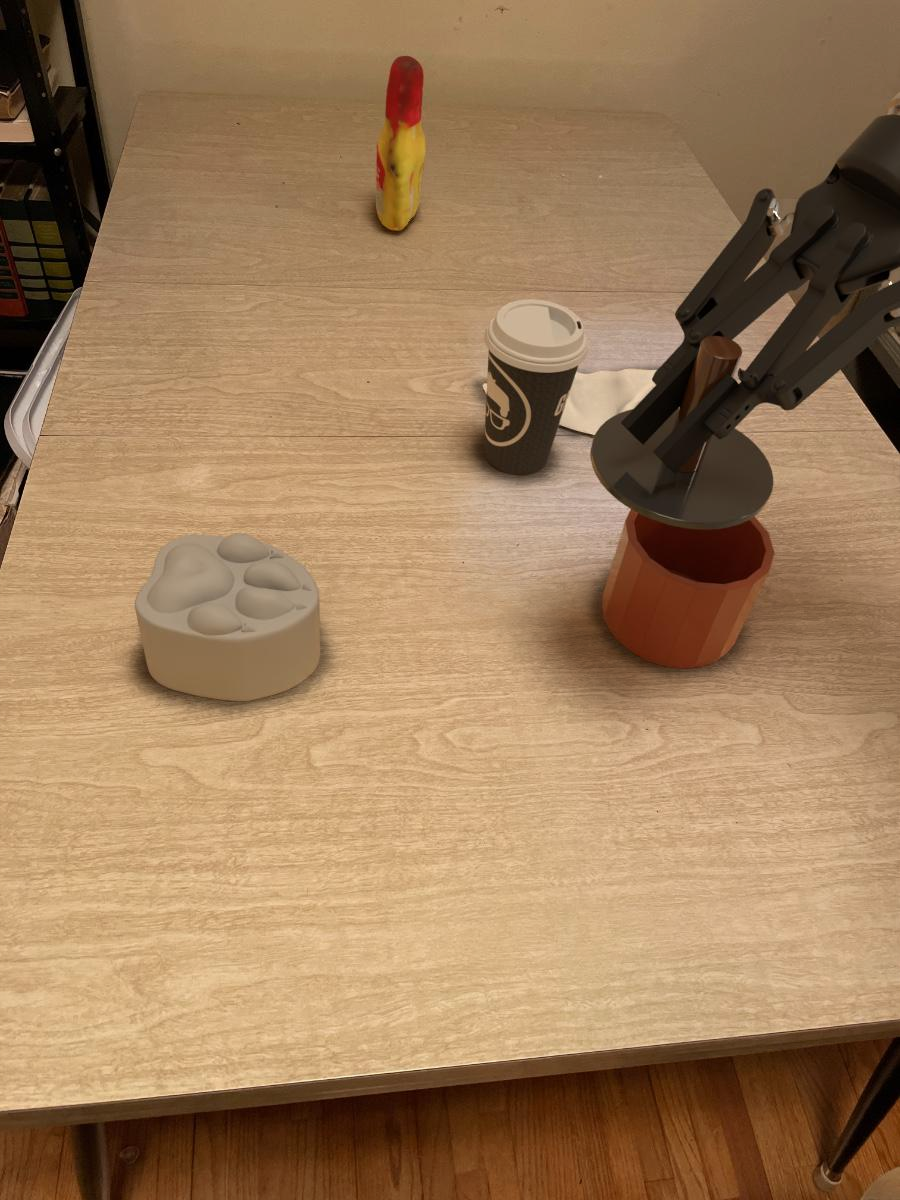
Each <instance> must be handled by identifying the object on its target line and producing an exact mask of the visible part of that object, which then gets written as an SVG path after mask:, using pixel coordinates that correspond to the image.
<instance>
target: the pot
mask: <svg viewBox="0 0 900 1200" xmlns="http://www.w3.org/2000/svg"><path fill="white" fill-rule="evenodd" d="M775 554H776V553H775V549H774V546H773V543H772V539H771V536H770V533H769V531H768V530H767V529H766V527H764V525H763V524H762V523H761V522H760V520H759V519H758V518H757V517H756V516H754V517H753V518H751V519H750V520H748V521H746V522H743V523H741V524H739V525H735V526H732V527H727V528H721V529H709V530H704V529H689V528H682V527H677V526H672V525H668V524H665V523H661V522H658V521H655V520H653V519H650V518H648V517H645V516H643V515H641V514H639V513H637V512H635V511H633V510H632V509H630V510H629V512H628V514H627V516H626V518H625V520H624V523H623V527H622V530H621V533H620V537H619V541H618V544H617V547H616V550H615V553H614V555H613V560H612V563H611V566H610V569H609V573H608V576H607V579H606V582H605V585H604V589H603V592H602V595H601V612H602V616H603V619H604V622H605V624H606V626H607V628H608V630H609V631H610V633H611V634H612V635H613V637H614V638H615V639H616V640H617V641H618V642H619V644H621V645H622V646H623V647H625V649H627V650H628V651H630V652H631V653H633V654H634V655H636V656H637V657H639V658H642V659H644V660H645V661H648V662H651V663H654V664H656V665H659V666H664V667H667V668H676V669H695V668H701V667H706V666H709V665H711V664H714V663H715V662H717V661H719V660H720V659H723V657H725V655H726V654H728V652H730V650H731V648H733V647H734V646H735V643H736V642H737V639H738V638H739V636H740V634H741V632H742V629H743V627H744V625H745V623H746V621H747V620H748V617H749V615H750V612H751V610H752V609H753V606H754V603H755V602H756V600H757V598H758V595H759V594H760V592H761V589H762V587H763V586H764V583H765V581H766V579H767V578H768V576H769V573H770V570H771V567H772V563H773V560H774V556H775Z"/></svg>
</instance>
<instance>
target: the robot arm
mask: <svg viewBox="0 0 900 1200" xmlns="http://www.w3.org/2000/svg"><path fill="white" fill-rule="evenodd" d="M790 224H792V225H791V229H790V234H789V235H788V236H787V237H786V238H785V239H783V240H782V241H781V242H780V243H779V244H778V245H777V246H776V247H774V248H773V249H772V250H771V252H770V254H769V257H768V259H767V261H766V262H764V264H762V265H761V266H760V267H758V269H757V270H755V271H754V269H755V268H756V267H757V265H758V264H760V261H761V260H763V258H764V257H765V256H766V254H767V253H768V251H769V250H770V248H771V247H772V245H773V243H774V241H775V239H776V237H782V236H783V235H785V230H786V228H787V227H788V226H789V225H790ZM753 271H754V272H753ZM752 272H753V273H752ZM751 273H752V274H751ZM750 274H751V275H750ZM808 281H809V282H808ZM807 282H808V286H807V289H806V291H805V292H804V293H803V294H802V296H801V298H800V299H799V300H798V302H797V303H796V304H795V305H794V306H793V307H792V309H791V310H790V311H789V313H788V315H787V316H786V317H785V318H784V319H783V321H782V322H781V323H780V325H779V326H778V327H777V329H775V331H774V332H773V334H772V335H771V336H770V338H769V339H768V341H766V343H765V344H764V346H763V347H762V348H761V349H760V351H759V352H758V353H757V354H756V355H755V357H754V359H753V360H752V361H751V362H750V364H749V365H748V366H747V367H746V368H745V370H744V369H742V368H741V367H740V368H738V370H737V378H738V379H739V381H740V382H738V381H737V379H736V378H735V377H731V376H730V375H729V374H727V375H726V376H725V377H724V378H723V379H722V380H721V381H720V382H719V383H718V384H717V385H716V386H715V387H714V388H713V389H712V390H711V391H710V392H709V393H708V395H707V396H706V397H705V398H704V399H703V400H702V401H701V402H700V403H699V404H698V405H697V406H696V407H695V408H694V409H693V410H692V411H691V412H690V413H689V414H688V416H687V417H686V418H685V419H684V420H683V421H682V422H681V423H680V424H679V425H678V426H677V427H676V428H675V429H674V430H673V431H672V432H671V433H670V434H669V435H668V436H667V438H666V439H665V440H664V441H663V442H662V443H661V444H660V445H659V446H658V447H657V448H656V449H655V450H654V451H653V452H654V454H655V455H656V456H657V457H658V458H659V459H660V460H661V461H662V462H663V463H664V464H665V465H666V466H667V467H668V468H669V469H670V470H672V471H673V472H674V473H676V472H677V471H678V470H679V469H680V468H681V467H682V466H683V465H684V464H685V463H686V462H687V461H688V460H689V459H690V458H691V457H692V456H693V455H694V454H695V453H696V452H697V451H698V450H699V449H700V447H701V446H702V445H703V444H704V443H705V442H706V441H707V440H708V439H709V438H710V437H711V436H712V435H713V434H714V435H715V436H716V437H717V438H718V439H722V438H724V437H726V436H728V435H729V433H730V432H731V431H732V430H733V429H734V428H735V429H736V428H737V426H738V425H739V424H741V422H742V421H743V420H744V419H746V417H747V416H748V415H749V414H750V413H751V412H752V411H753V410H754V409H755V408H756V407H757V406H759V405H762V404H771V405H775V406H778V407H780V408H781V409H782V410H783V411H789V412H790V411H792V410H794V409H796V408H797V407H799V406H800V405H801V404H802V403H804V401H805V400H807V399H808V398H809V397H811V395H813V394H814V393H816V391H818V389H820V388H821V387H822V386H823V385H824V384H825V383H826V382H828V381H829V380H830V379H832V377H834V376H836V374H838V372H840V371H841V370H842V369H843V368H844V367H846V365H848V364H849V363H850V362H852V361H853V360H854V359H855V358H856V357H857V356H858V355H860V354H861V353H863V351H865V349H867V348H868V347H869V346H871V344H873V343H874V342H875V341H876V340H878V339H879V338H880V337H881V336H882V335H883V334H884V333H886V332H887V331H888V330H889V329H891V328H893V327H895V326H897V325H900V91H899V92H897V94H895V95H894V97H893V98H892V99H891V100H890V101H889V103H888V104H887V106H886V108H885V113H884V115H880V116H877V117H875V118H874V119H873V120H872V121H871V122H870V123H869V125H868V126H867V127H865V129H864V130H863V131H862V132H861V133H860V134H859V135H858V136H857V137H856V139H855V140H854V141H853V142H852V143H850V145H849V146H848V147H847V148H846V149H845V150H844V151H843V152H842V153H841V155H840V156H839V157H838V158H837V160H836V161H835V163H834V165H833V167H832V168H831V170H830V172H829V174H828V175H827V177H826V178H825V179H823V181H822V182H820V183H819V184H816V185H815V186H813V187H812V188H809V189H807V190H806V191H804V192H803V193H802V194H801V195H800V196H799V197H797V198H796V197H776V195H775V192H774V191H773V190H772V189H771V188H763V189H761V190H759V191H758V192H757V193H756V195H755V196H754V199H753V201H752V204H751V206H750V209H749V211H748V214H747V217H746V220H745V221H743V223H742V225H741V227H739V229H738V230H737V232H735V234H734V235H733V236H732V238H731V239H730V240H729V242H728V243H727V244H726V245H725V247H724V248H723V249H722V250H721V252H720V253H719V255H718V256H717V257H716V258H715V260H714V261H713V262H712V263H711V265H710V266H709V267H708V269H707V270H706V271H705V272H704V274H703V275H702V276H701V278H700V279H699V281H698V282H697V283H696V284H695V286H693V288H692V289H691V291H690V292H689V293H688V295H687V296H686V297H685V298H684V300H683V301H682V302H681V303H680V304H679V306H678V307H677V309H676V310H675V312H674V317H675V320H677V323H678V324H679V326H680V328H681V330H682V332H683V340H682V342H681V344H679V346H678V347H677V348H676V349H675V350H674V351H673V352H672V353H671V355H670V356H669V357H668V358H667V359H666V360H665V361H664V362H663V363H662V364H661V365H660V366H659V368H657V369H656V370H657V371H656V372H655V374H654V376H653V378H652V381H653V382H654V383H655V384H656V386H655V387H654V388H653V389H652V390H651V391H650V392H649V393H648V394H647V395H646V396H645V397H644V398H643V399H642V401H641V402H640V403H639V404H638V405H637V406H636V407H635V408H634V409H633V410H632V411H631V412H630V413H629V414H628V416H627V417H626V418H625V419H624V420H623V421H622V422H621V424H622V425H623V426H624V427H625V428H626V429H627V430H628V431H629V432H630V433H631V434H632V435H633V436H634V437H635V438H636V439H637V440H638V441H639V442H640V443H642V444H643V445H644V444H645V442H646V441H647V440H648V439H649V438H650V437H651V436H652V435H653V434H654V433H655V432H656V431H657V430H658V429H659V428H660V427H661V426H662V425H663V424H664V422H665V421H666V420H667V419H668V418H669V417H670V416H671V415H672V414H673V413H674V412H675V411H676V410H677V409H678V408H680V405H681V402H682V399H683V396H684V393H685V390H686V387H687V384H688V381H689V378H690V375H691V371H692V368H693V365H694V362H695V359H696V356H697V353H698V350H699V347H700V344H701V341H702V340H703V339H704V338H706V337H710V336H721V337H725V338H728V339H731V340H733V341H734V339H735V338H737V337H738V335H740V334H741V333H742V332H743V331H744V330H746V329H747V328H748V327H749V326H750V325H751V324H753V323H754V322H755V321H756V320H758V318H759V317H761V316H762V315H763V314H764V313H765V312H767V311H768V310H769V309H770V308H772V307H773V306H774V305H775V304H776V303H777V302H778V301H779V300H781V299H782V298H783V297H784V296H785V295H786V294H788V293H789V292H791V291H792V292H795V291H797V290H798V289H800V288H801V287H802V286H803V285H805V284H806V283H807ZM879 284H880V285H879ZM877 285H879V286H878V288H877V291H876V292H874V293H873V294H871V295H870V296H868V297H867V298H866V299H864V300H863V301H861V302H860V303H859V304H858V305H857V306H856V307H854V309H852V310H851V311H850V312H849V313H848V314H847V315H846V316H844V318H842V319H841V320H840V321H839V322H838V323H836V324H835V325H834V326H833V327H831V329H829V330H828V331H827V332H826V333H825V334H824V335H822V336H821V337H820V338H819V339H818V340H817V341H815V340H816V338H817V337H818V336H819V334H820V333H821V332H822V331H823V329H824V328H825V327H826V325H827V324H828V323H829V322H830V321H831V319H832V318H833V317H837V316H839V314H840V313H841V312H842V311H843V310H844V309H845V307H846V306H847V304H849V302H850V301H851V300H852V298H853V297H854V295H855V294H856V293H857V292H859V291H861V290H865V289H868V288H870V287H874V286H877ZM814 341H815V342H814ZM813 342H814V343H813ZM812 343H813V344H812ZM859 1200H900V1166H897V1167H895V1168H893V1169H891V1170H888V1171H886V1172H884V1173H882V1174H881V1175H880V1176H879V1177H878V1178H877V1179H875V1180H874V1181H873V1182H872V1183H870V1185H869V1186H868V1187H867V1189H866V1190H865V1192H863V1195H862V1196H861V1198H860V1199H859Z"/></svg>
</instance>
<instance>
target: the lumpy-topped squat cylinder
mask: <svg viewBox="0 0 900 1200" xmlns="http://www.w3.org/2000/svg"><path fill="white" fill-rule="evenodd" d="M320 606H321V605H320V591H319V587H318V585H317V583H316V581H315V579H314V577H313V575H312V574H311V573H310V572H309V570H308V569H307V568H306V567H305V566H304V565H303V564H302V563H301V562H300V561H298V560H297V559H296V558H294V557H293V556H291V555H289V554H288V553H286V552H285V551H283V550H281V549H280V548H278V547H276V546H273V545H269V544H267V543H263V542H262V541H261V540H259V539H258V538H257V537H255V536H253V535H251V534H248V533H243V532H242V533H241V532H239V533H237V532H236V533H232V534H229V535H227V536H218V535H210V534H189V535H183V536H180V537H177V538H175V539H173V540H171V541H169V542H167V543H165V544H164V545H163V546H162V547H161V548H160V549H159V550H158V552H157V554H156V557H155V559H154V564H153V568H152V571H151V574H150V575H149V577H148V579H147V580H146V582H145V583H144V584H143V586H142V587H141V588H139V591H138V592H137V594H136V596H135V599H134V611H135V614H136V615H135V616H136V620H137V624H138V629H139V634H140V639H141V643H142V648H143V652H144V657H145V662H146V666H147V670H148V672H149V675H150V677H151V678H152V679H153V680H154V681H156V682H157V683H158V684H159V685H161V686H163V687H165V688H168V689H169V690H172V691H176V692H180V693H184V694H188V695H192V696H196V697H201V698H208V699H214V700H220V701H221V700H222V701H231V702H233V701H234V702H248V701H254V700H259V699H262V698H267V697H271V696H275V695H278V694H281V693H283V692H286V691H288V690H290V689H292V688H294V687H296V686H297V685H299V684H301V683H302V682H304V681H306V679H308V678H309V677H310V676H311V675H312V674H313V673H314V672H315V670H316V669H317V668H318V665H319V663H320V658H321V620H320V619H321V617H320V612H321V611H320V610H321V609H320Z"/></svg>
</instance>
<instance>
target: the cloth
mask: <svg viewBox="0 0 900 1200" xmlns="http://www.w3.org/2000/svg"><path fill="white" fill-rule="evenodd" d="M657 370H658V369H644V368H643V369H640V368H625V369H620V370H618V371H613V370H600V371H595V372H591V373H583V372H579V371H576V374H575V377H574V380H573V383H572V386H571V389H570V392H569V395H568V398H567V401H566V405H565V408H564V411H563V414H562V417H561V420H560V423H559V426H562V427H565V428H567V429H571V430H573V431H577V432H581V433H585V434H587V435H588V434H589V435H593V436H595V434H596V432H597V431H598V429H599V428H600V426H601V425H603V424H604V423H605V422H606V421H607V420H608V419H610V418H611V417H613V416H615V415H617V414H619V413H622V412H624V411H627V410H631V409H634V408H635V407H636V406H637V405H638V404H639V403H640V402H641V401H642V399H643V398H644V397H645V396H646V395H647V394H648V393H649V392H650V391H651V390H652V389H653V388H654V387H655V386H656V384H655V383H654V382H653V381H652V378H653V376H654V374H655V372H656V371H657ZM482 389H483V391H484V393H485V395H486V396H487V382H486V383H483V384H482Z"/></svg>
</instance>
